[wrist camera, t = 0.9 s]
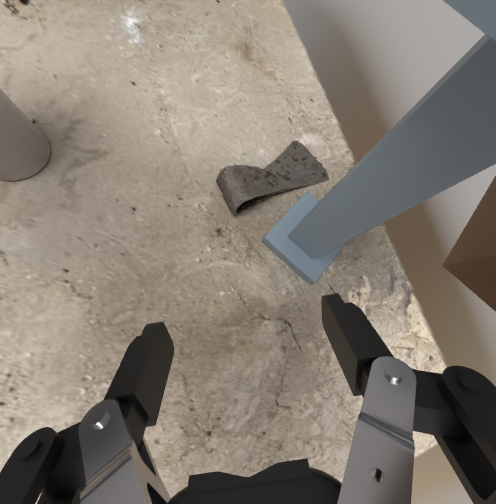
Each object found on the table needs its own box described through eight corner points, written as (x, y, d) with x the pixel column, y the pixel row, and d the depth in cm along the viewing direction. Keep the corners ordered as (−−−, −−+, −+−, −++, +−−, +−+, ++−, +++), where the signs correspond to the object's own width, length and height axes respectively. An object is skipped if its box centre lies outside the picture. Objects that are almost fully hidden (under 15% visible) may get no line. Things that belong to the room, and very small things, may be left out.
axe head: (310, 126, 42) (341, 170, 41) (297, 146, 47) (324, 187, 45) (208, 154, 34) (243, 212, 32) (204, 176, 38) (234, 227, 37)
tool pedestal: (261, 240, 37) (506, -99, 6) (302, 196, 40) (600, -175, 10) (309, 284, 37) (824, 140, 6) (347, 235, 40) (815, -24, 9)
